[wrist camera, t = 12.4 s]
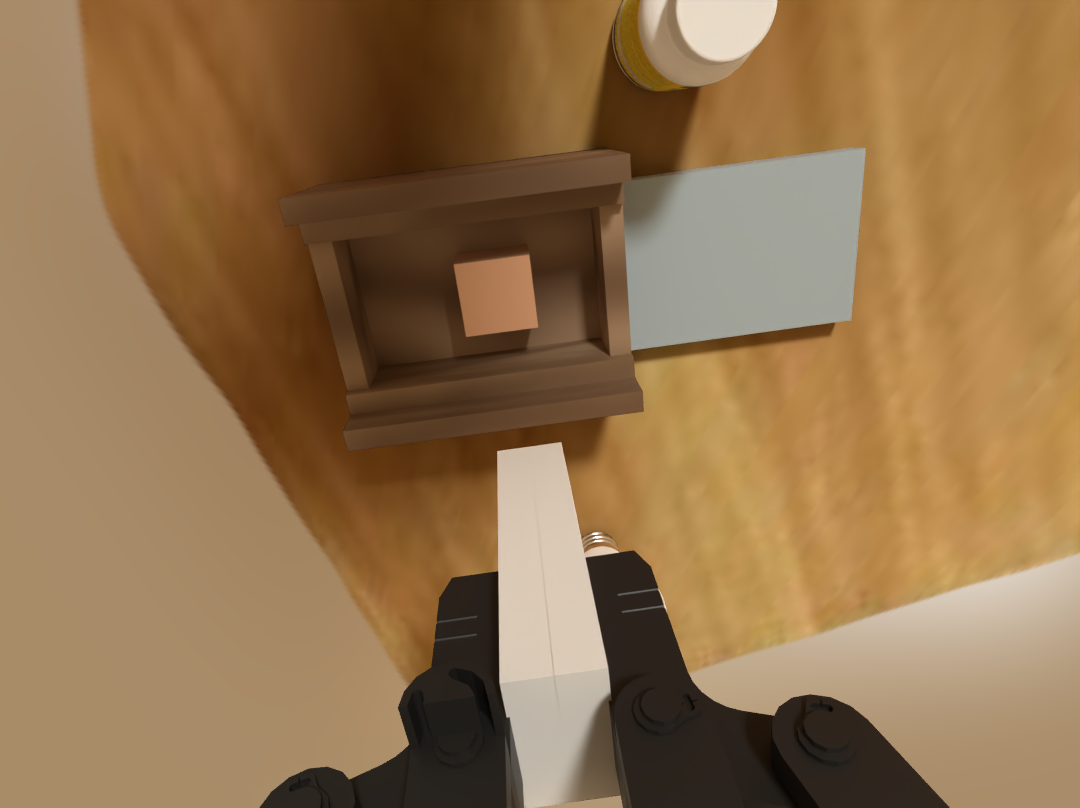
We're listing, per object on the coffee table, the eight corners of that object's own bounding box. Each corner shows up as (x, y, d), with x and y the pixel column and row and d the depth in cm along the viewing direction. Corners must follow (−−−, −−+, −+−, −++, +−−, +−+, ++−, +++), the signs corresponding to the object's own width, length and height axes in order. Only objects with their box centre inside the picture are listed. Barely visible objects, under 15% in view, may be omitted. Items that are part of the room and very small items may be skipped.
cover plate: (606, 180, 36) (612, 182, 34) (847, 147, 36) (865, 148, 34) (618, 341, 40) (624, 351, 38) (835, 311, 40) (851, 320, 38)
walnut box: (317, 184, 34) (277, 199, 28) (605, 147, 35) (630, 153, 28) (371, 398, 40) (347, 451, 33) (619, 365, 40) (643, 411, 34)
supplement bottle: (651, 116, 34) (706, 113, 25) (589, 27, 32) (626, -9, 23) (733, 42, 33) (822, 13, 24) (674, -54, 31) (747, -125, 22)
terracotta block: (456, 253, 35) (453, 264, 33) (526, 244, 36) (529, 254, 33) (468, 321, 37) (466, 336, 34) (535, 312, 37) (538, 327, 34)
